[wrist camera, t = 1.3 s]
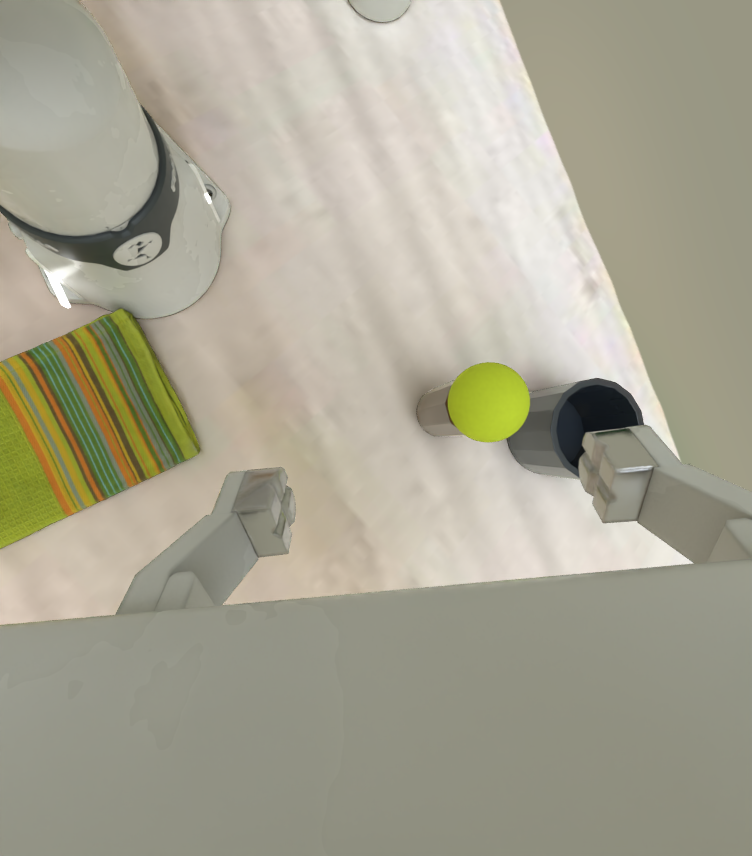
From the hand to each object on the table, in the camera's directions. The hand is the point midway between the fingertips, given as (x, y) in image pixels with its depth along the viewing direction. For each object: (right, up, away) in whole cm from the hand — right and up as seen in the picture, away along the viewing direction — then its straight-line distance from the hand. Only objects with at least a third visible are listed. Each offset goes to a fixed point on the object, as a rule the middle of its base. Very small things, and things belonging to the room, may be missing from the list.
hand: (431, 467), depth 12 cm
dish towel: (-37, -2, +29) cm, 47 cm away
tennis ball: (+8, +3, +23) cm, 25 cm away
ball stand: (+5, +3, +36) cm, 36 cm away
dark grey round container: (+18, +1, +38) cm, 42 cm away
